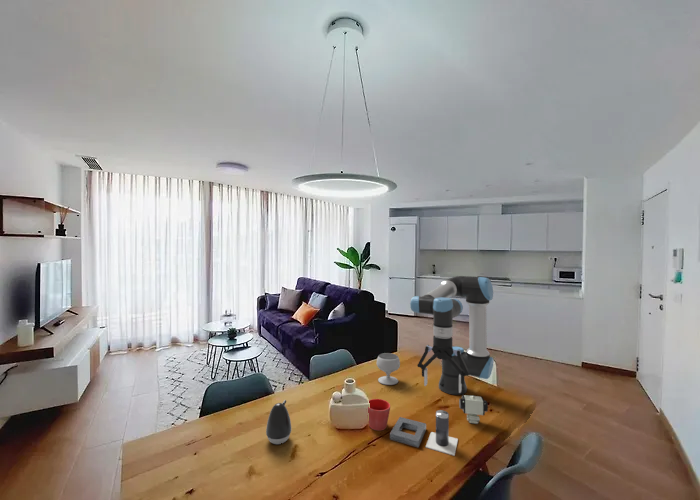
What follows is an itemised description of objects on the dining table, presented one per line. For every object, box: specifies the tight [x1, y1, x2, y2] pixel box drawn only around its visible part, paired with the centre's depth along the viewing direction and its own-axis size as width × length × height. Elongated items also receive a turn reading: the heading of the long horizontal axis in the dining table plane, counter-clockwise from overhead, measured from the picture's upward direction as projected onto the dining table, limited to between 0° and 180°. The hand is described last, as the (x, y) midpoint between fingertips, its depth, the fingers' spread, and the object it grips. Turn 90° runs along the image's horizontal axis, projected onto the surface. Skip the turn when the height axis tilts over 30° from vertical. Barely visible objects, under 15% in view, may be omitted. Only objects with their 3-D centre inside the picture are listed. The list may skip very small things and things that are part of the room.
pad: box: [425, 431, 459, 457], centre depth 125 cm, size 11×11×1 cm
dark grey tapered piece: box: [265, 399, 292, 445], centre depth 126 cm, size 10×10×15 cm
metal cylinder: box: [435, 409, 450, 447], centre depth 125 cm, size 5×5×12 cm
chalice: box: [376, 352, 401, 386], centre depth 183 cm, size 14×14×15 cm
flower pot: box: [368, 398, 391, 432], centre depth 137 cm, size 11×11×10 cm
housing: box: [389, 416, 427, 448], centre depth 131 cm, size 14×12×2 cm
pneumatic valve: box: [458, 394, 489, 425], centre depth 141 cm, size 6×12×12 cm, turn 78°
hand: (442, 388), depth 125 cm, fingers open, 13 cm apart
